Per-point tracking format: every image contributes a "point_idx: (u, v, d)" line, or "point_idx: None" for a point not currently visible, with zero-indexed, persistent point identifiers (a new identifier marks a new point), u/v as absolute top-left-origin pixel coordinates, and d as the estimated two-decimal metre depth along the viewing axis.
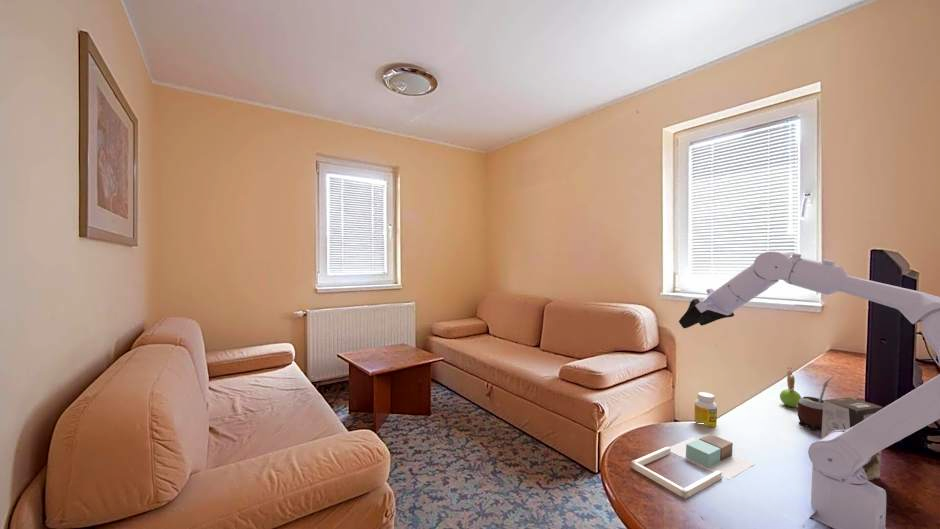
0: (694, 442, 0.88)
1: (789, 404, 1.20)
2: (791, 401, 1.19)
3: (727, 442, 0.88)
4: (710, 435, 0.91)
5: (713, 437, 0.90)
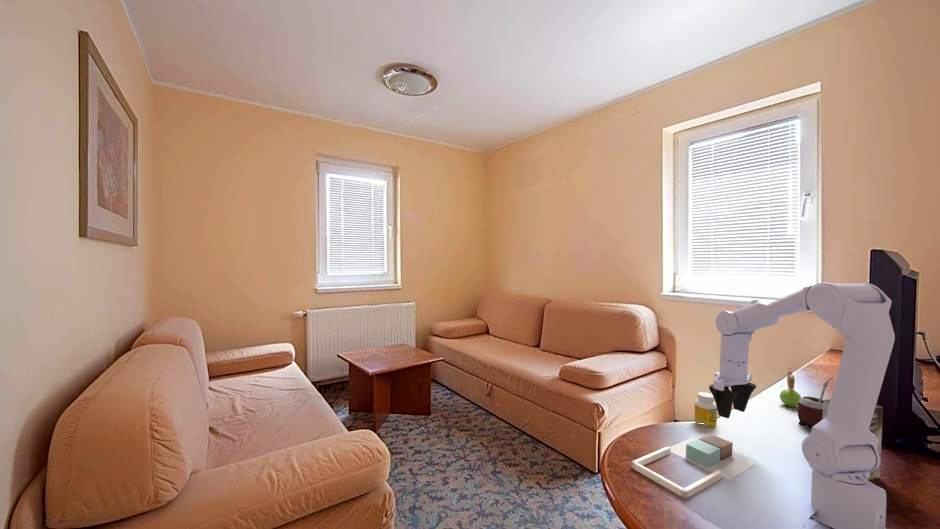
0: (694, 442, 0.88)
1: (789, 404, 1.20)
2: (791, 401, 1.19)
3: (727, 442, 0.88)
4: (710, 435, 0.91)
5: (713, 437, 0.90)
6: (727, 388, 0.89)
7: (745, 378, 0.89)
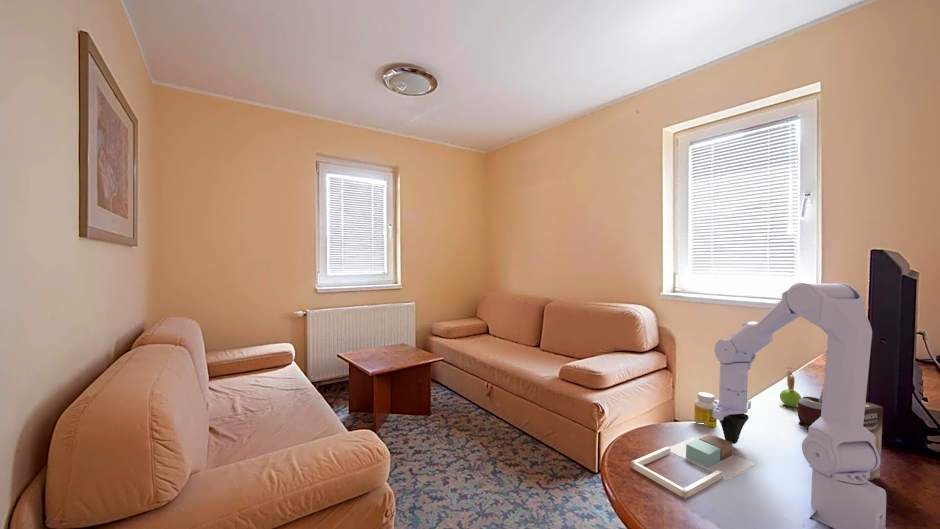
0: (694, 442, 0.88)
1: (789, 404, 1.20)
2: (791, 401, 1.19)
3: (727, 442, 0.88)
4: (710, 435, 0.91)
5: (713, 437, 0.90)
6: (734, 414, 0.91)
7: (744, 407, 0.90)
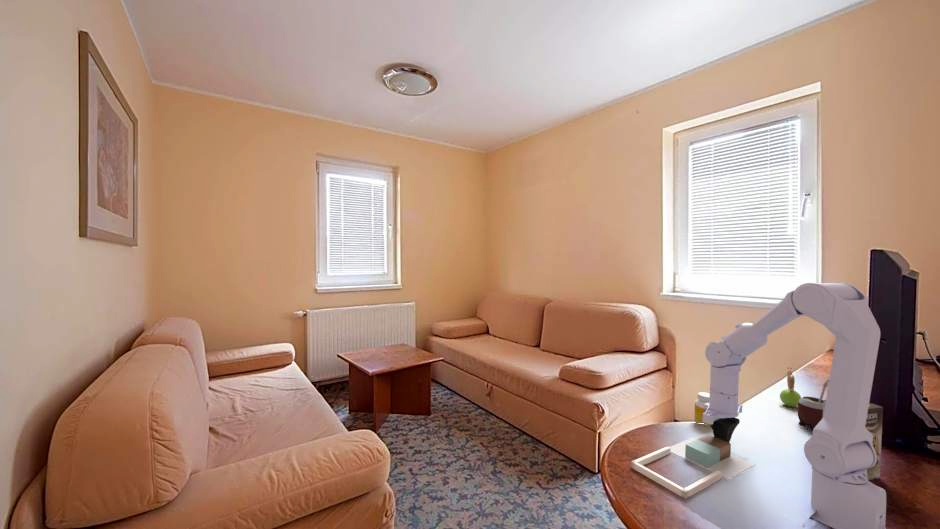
0: (693, 442, 0.87)
1: (789, 404, 1.20)
2: (791, 401, 1.19)
3: (725, 442, 0.88)
4: (708, 436, 0.91)
5: (711, 437, 0.90)
6: (724, 418, 0.89)
7: (735, 411, 0.87)
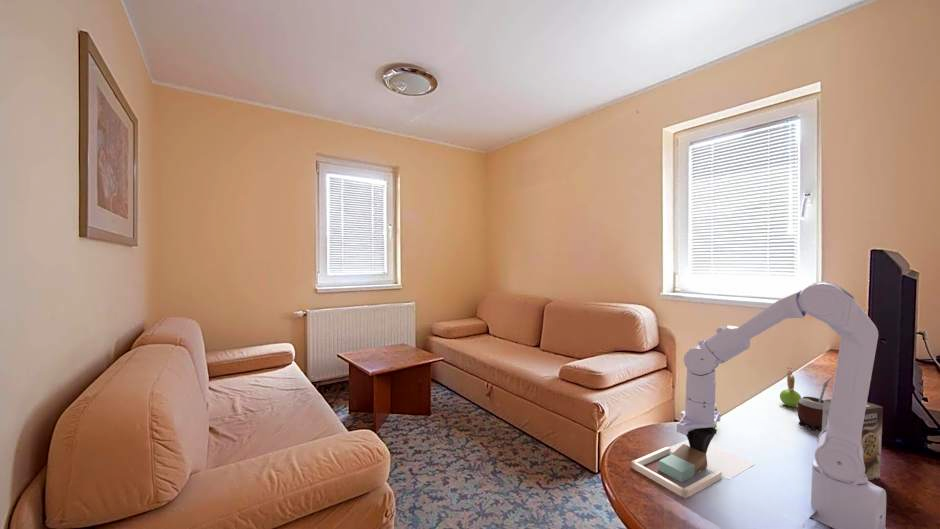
0: (667, 458, 0.82)
1: (789, 404, 1.20)
2: (791, 401, 1.19)
3: (700, 454, 0.82)
4: (683, 446, 0.86)
5: (686, 448, 0.85)
6: (700, 428, 0.83)
7: (711, 420, 0.82)
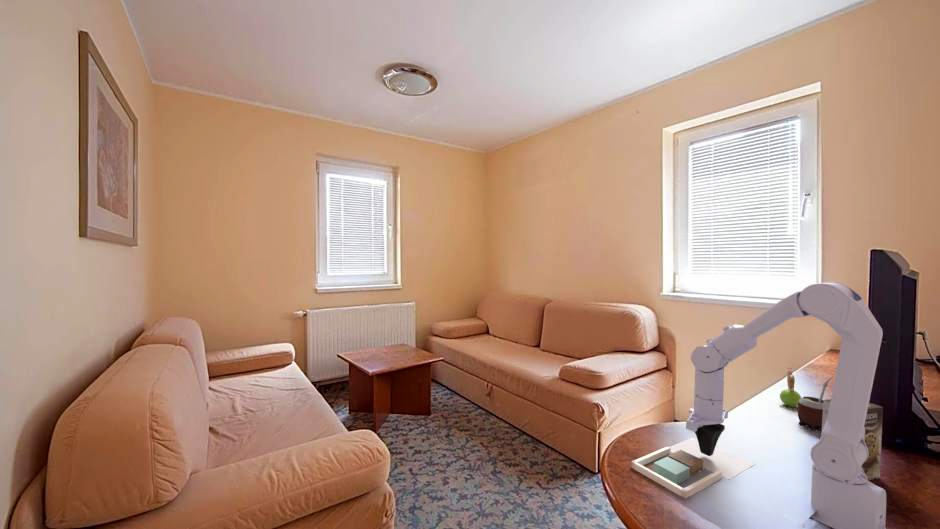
0: (662, 460, 0.81)
1: (789, 404, 1.20)
2: (791, 401, 1.19)
3: (697, 459, 0.82)
4: (680, 451, 0.85)
5: (683, 453, 0.84)
6: (709, 424, 0.85)
7: (720, 417, 0.84)
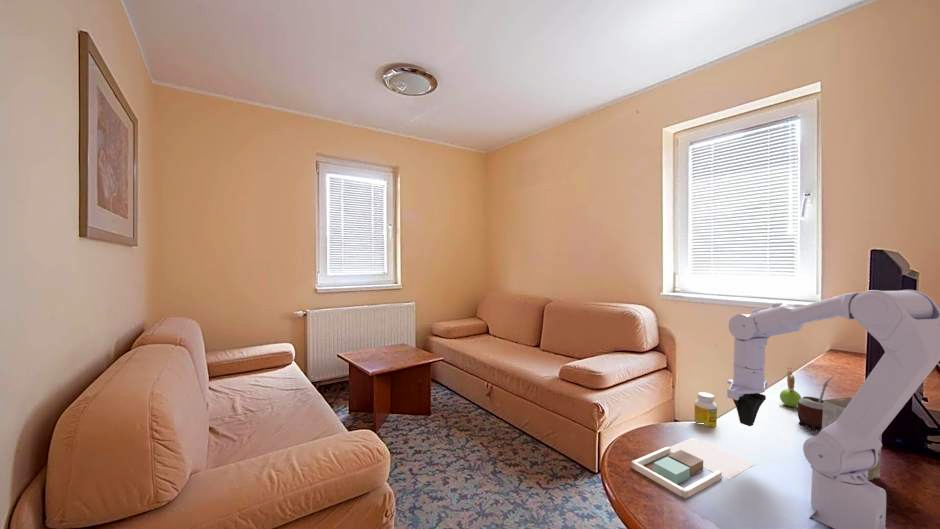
0: (662, 460, 0.81)
1: (789, 404, 1.20)
2: (791, 401, 1.19)
3: (697, 459, 0.82)
4: (680, 451, 0.85)
5: (683, 453, 0.84)
6: (749, 394, 0.84)
7: (761, 386, 0.83)
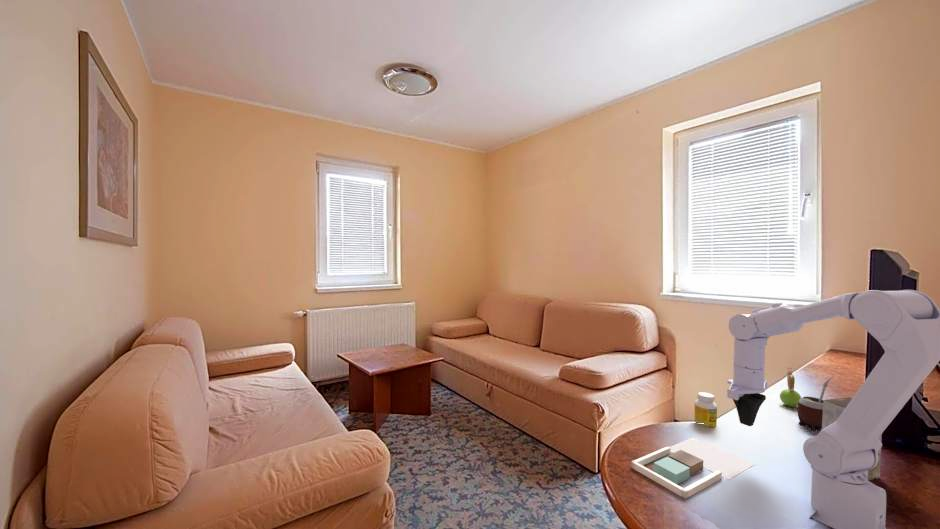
0: (662, 460, 0.81)
1: (789, 404, 1.20)
2: (791, 401, 1.19)
3: (697, 459, 0.82)
4: (680, 451, 0.85)
5: (683, 453, 0.84)
6: (749, 394, 0.84)
7: (761, 386, 0.83)
